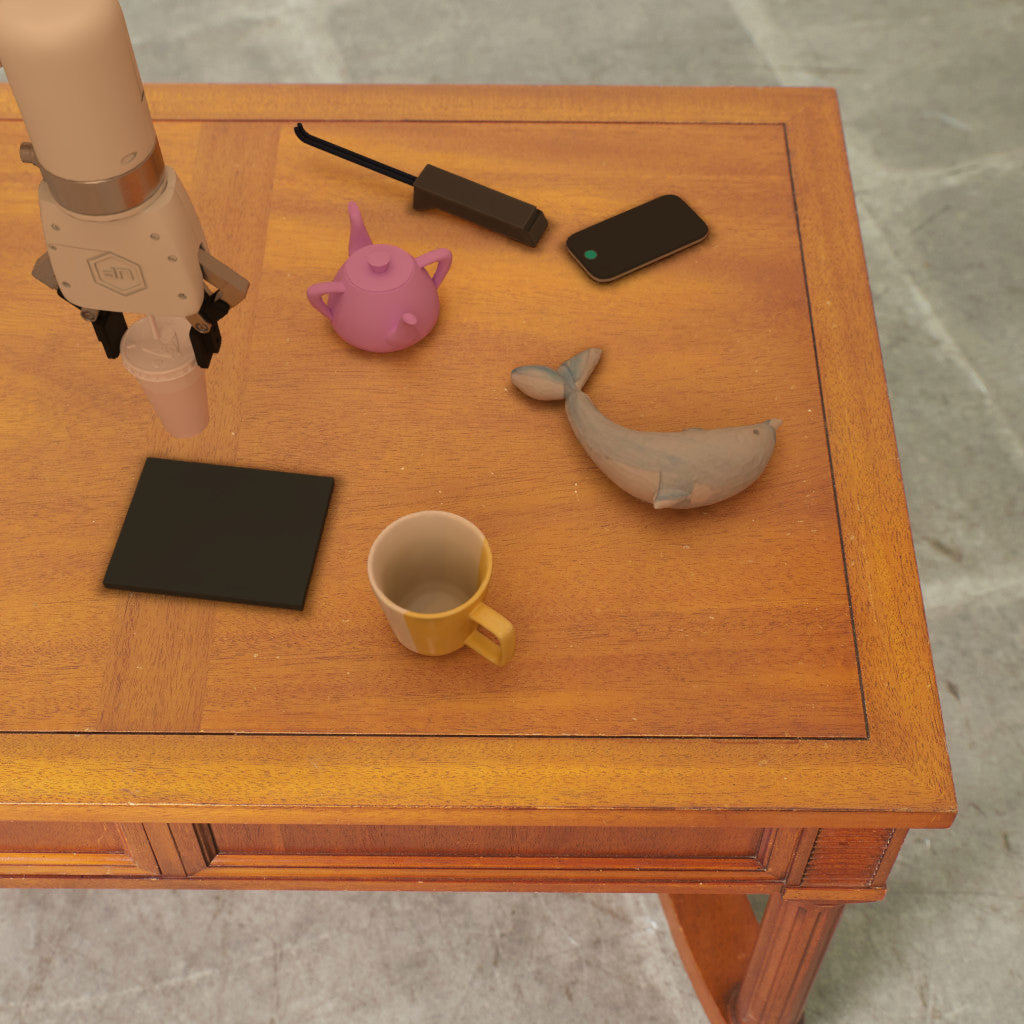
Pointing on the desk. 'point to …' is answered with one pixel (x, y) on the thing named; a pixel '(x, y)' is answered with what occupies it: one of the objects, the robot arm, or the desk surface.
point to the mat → (221, 533)
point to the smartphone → (636, 238)
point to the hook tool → (453, 195)
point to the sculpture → (654, 443)
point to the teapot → (381, 293)
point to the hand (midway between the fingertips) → (163, 348)
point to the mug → (438, 586)
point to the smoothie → (168, 372)
